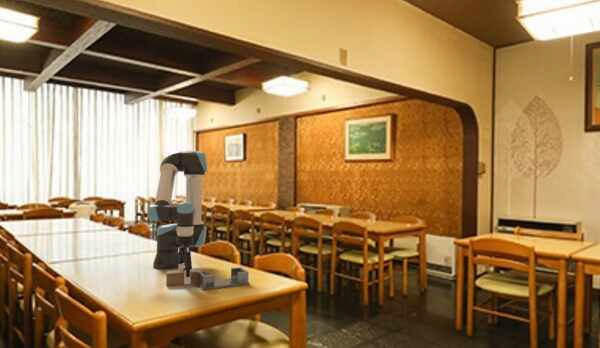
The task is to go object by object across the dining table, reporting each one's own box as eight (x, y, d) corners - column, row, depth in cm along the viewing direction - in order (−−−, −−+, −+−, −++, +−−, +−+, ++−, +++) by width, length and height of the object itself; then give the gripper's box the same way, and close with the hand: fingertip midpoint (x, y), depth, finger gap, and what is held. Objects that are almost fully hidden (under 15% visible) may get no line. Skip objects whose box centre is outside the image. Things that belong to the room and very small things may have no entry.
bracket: (196, 284, 186) (196, 271, 186) (241, 279, 196) (241, 267, 196) (202, 290, 176) (202, 276, 176) (249, 284, 187) (249, 271, 187)
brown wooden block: (166, 284, 186) (166, 271, 187) (201, 281, 192) (201, 269, 192) (166, 286, 182) (166, 273, 182) (202, 284, 187) (202, 271, 187)
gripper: (172, 232, 196) (171, 275, 196) (182, 239, 174) (181, 287, 174) (187, 231, 200) (186, 274, 199) (199, 238, 178) (198, 285, 177)
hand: (184, 280), depth 187 cm, fingers open, 13 cm apart
